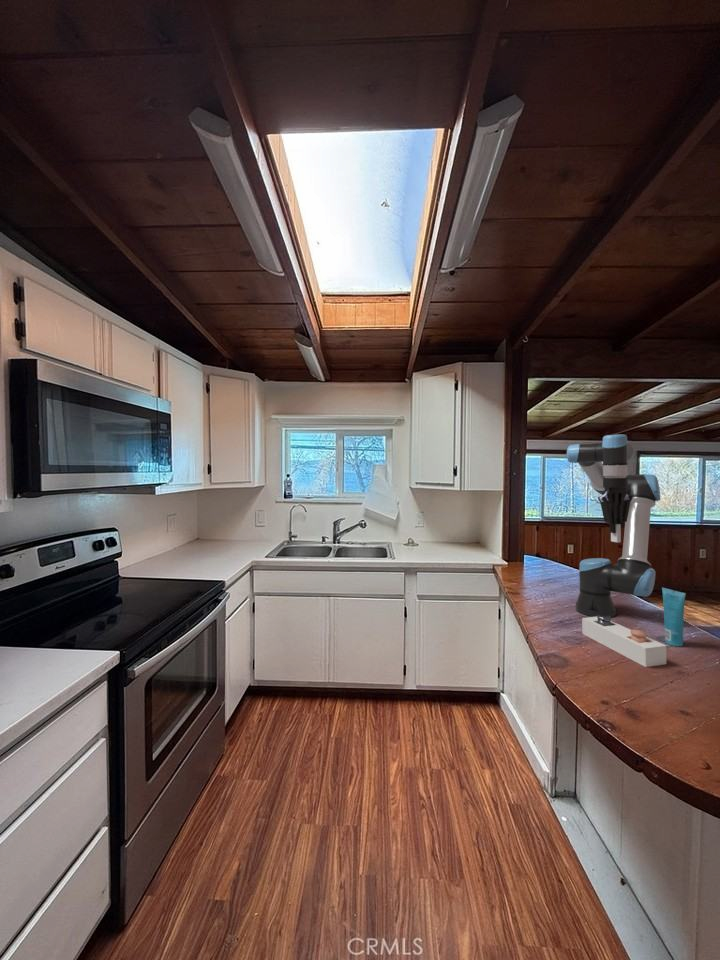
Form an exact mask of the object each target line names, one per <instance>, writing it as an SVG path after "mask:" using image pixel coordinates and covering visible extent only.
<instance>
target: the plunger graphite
mask: <svg viewBox="0 0 720 960" xmlns="http://www.w3.org/2000/svg"><path fill="white" fill-rule="evenodd" d="M597 618H598V624H600V625H602V626H611V621H612V617H610V616H608V615H603V614H599V615H597Z"/></svg>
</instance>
